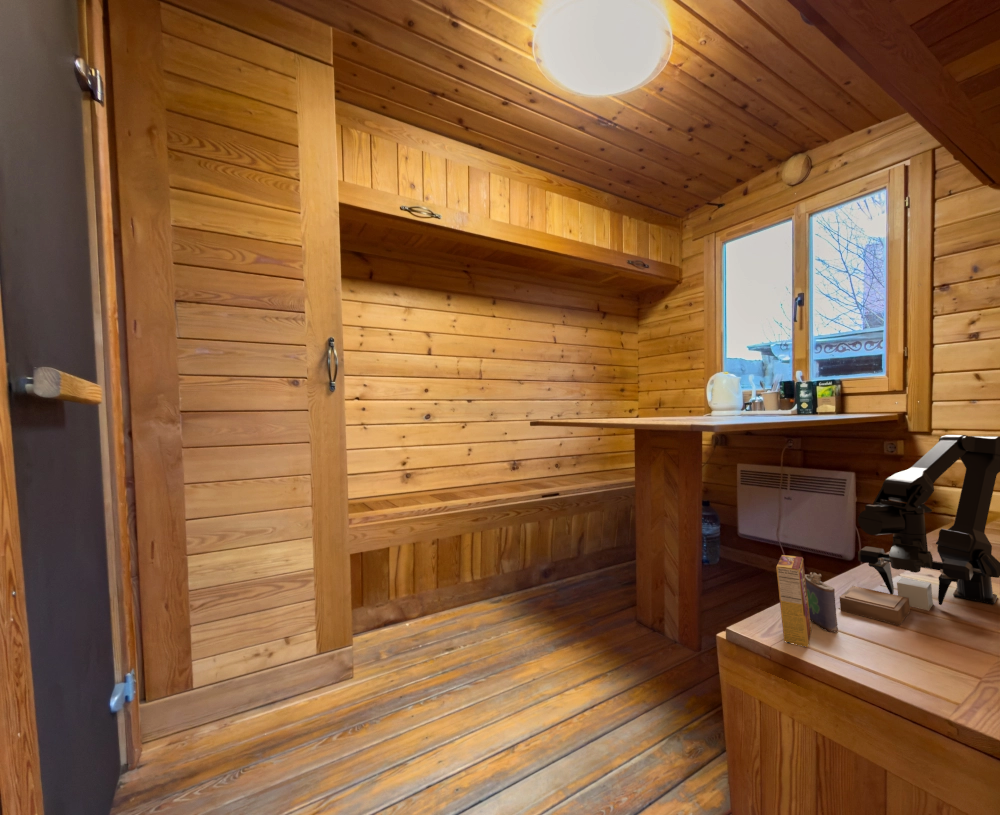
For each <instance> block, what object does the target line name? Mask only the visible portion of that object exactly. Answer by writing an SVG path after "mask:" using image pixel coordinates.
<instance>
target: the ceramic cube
mask: <svg viewBox="0 0 1000 815" xmlns="http://www.w3.org/2000/svg"><path fill="white" fill-rule="evenodd" d="M896 587H897V588H896V589H897V595H898V596H903V597H907V598H909V605H910V608H917V609H921V610H925V611H930V610H931V608H932V607H933V605H934V599H933V588H932V582H929V581H924V580H918V579H913V578H908V577H905V576H904V577H903V576H902V577H900V579H898V580H897V582H896Z"/></svg>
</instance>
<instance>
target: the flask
mask: <svg viewBox="0 0 1000 815" xmlns="http://www.w3.org/2000/svg"><path fill="white" fill-rule="evenodd" d="M821 578H822V574H821V573H818V574H817V573H816V572H810V573H809V574H805V579H806V588H807V596H808V605H809V614H810V622H812V623H813V624H814V625H816V626H817V627H819V628H821V629H822V630H824V631H826V632H828V633H832V634H833V633H838V632H839V627H838V618H837V608H836V596H835V588H834V587H833V586H830V585H828V584H826V583H824V582H823V581H821V580H822V579H821Z"/></svg>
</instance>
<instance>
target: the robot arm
mask: <svg viewBox="0 0 1000 815" xmlns="http://www.w3.org/2000/svg"><path fill="white" fill-rule="evenodd" d="M959 459H960V460H961V462H962V464H963V466H964V467H965V473H964V477H963V481H962V486H961V491H960V496H959V500H958V503H957V509H956V513H955V518H954V522H953V525H951V526H950V527H949V528H947V529H946V528H941V529H940V530H939V531H938V539H937V541H936V542H935V545H937V546H936V550H937V553H938V555H939V557H940V559H941V561H937V560H934V558H933V554H932V552H931V551H930V550H928V549H929V548H928V539H927V538H928V537H927V528H926V517H925V514H926V513H932V511H933V509H932V508H930V507H929V506H928V505H927V504H925V503H926V502H927V501H928V500H929V498H930V497H931V496H932V494H933V493H934V491H935V487H934V486H935V485H934V484H935V482H936V481H937V479H939V478H940V477H941V476H942V475H943V474H945V472H946V471H947V470H949V469H950V468H951V467H952V466H953V465H954V464H955V463H956V462H957V461H958V460H959ZM999 473H1000V435H999V436H998V435H996V436H995V435H990V436H989V435H982V436H981V435H966V434H945V435H942V436H940V438H938V442H937V443H936V444H935V445H934V446H933V447H932V448H930V449H929V450H928V451H927V452H926V453H925V454H924V455H922V456H921V458H920V459H918V460H917V461H916V462H915V463H914V464H912V466H910V467H909V468H908V469H905V470H901V471H899V472H895V473H893V474H892V475H891V476H888V477H887V478H885V480H884V481H883V483H882V486H881V487H880V489H879V492H878V493H877V494H876V497H875V498H874V501H873V503H872V504H865V506H864V508H865V509H864V510H862V511H861V512H860V513H859V515H858V517H857V523H858V524H859V527H860V528H861V530H862V531H863V532H864V533H866V534H868V535H870V536H881V535H892V544H891V547H890V550H889V552H888V553H886V552H885V550H884V548H882V547H881V548H880V547H874V546H864V547H863V548H861V549H859V551H858V553H857V560H858V562H861V563H866V564H868V566H869V567H871V568H873V569H875V570H876V571H877V573H879V576H880V578H882V580H883V582H884V584H885V586H886V588H887V590H888V593H889V594H893V595H895V594H894V589H895V588H894V581H893V576H892V570H891V568H893V569H894V570H903V571H907V572H910V573H913V574H914V573H920V572H921V568H924V569H929V570H935V571H940V574H939V576H938V594H937V596H938V597H937V600H938V605H940V606H942V605H943V603H944V600H945V598H946V595H947V592H948V589H949V587H950V586H951V584H952V582H953V583H956V589H955V590H954V592H953V593H952V595H953V597H957V598H961V599H965V600H966V599H967V600H970V601H976V602H981V603H985V604H991V605H995V604H996V601H997V599H998V594H995V593H994V592H993V584H992V582H993V580H992V578H996V579H997V578H1000V561H999V560H998V559H997V558H996V557H995V556H994V555H993V554H992V553H993V552H992V550H993V546H992V543H991V542H990V540H989V539H988V537H987V535H986V532H985V530H986V526H987V522H988V518H989V517H988V516H989V511H990V508H991V502H992V499H993V493H994V489H995V484H996V480H997V475H998V474H999Z"/></svg>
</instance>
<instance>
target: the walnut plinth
mask: <svg viewBox="0 0 1000 815" xmlns="http://www.w3.org/2000/svg"><path fill="white" fill-rule="evenodd" d="M839 607H840V611H842V612H846V613H849V614H853V615H857V616H861V617H863V618H869V619H872V620H876V621H880V622H884V623H888V624H892V625H896V626H901V625H902V623H903V621H905V619H906V618H907V616H908V615H909V613H911V606H910V605H909V598H907V597H903V596H898V594H890V592H882V591H880V590H879V591H878V590H875V589H869V588H864V587H860V586H856V585H852V586H850V587H849V588H848V589H847V590H846V591H845V592H844V593H842V594H841V595H840V596H839Z"/></svg>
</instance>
